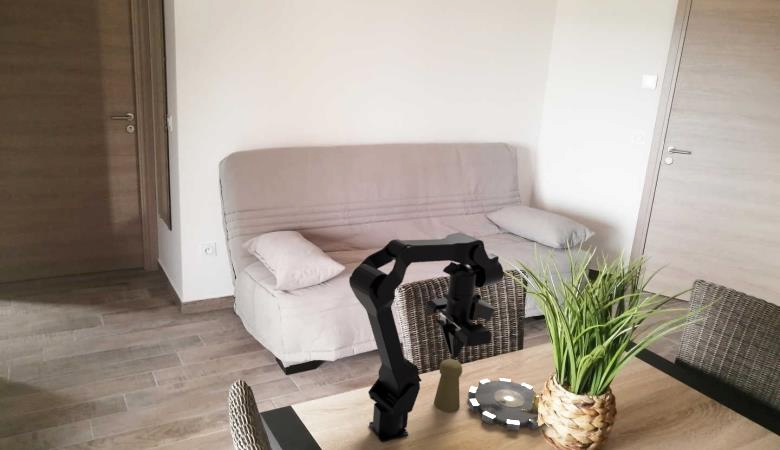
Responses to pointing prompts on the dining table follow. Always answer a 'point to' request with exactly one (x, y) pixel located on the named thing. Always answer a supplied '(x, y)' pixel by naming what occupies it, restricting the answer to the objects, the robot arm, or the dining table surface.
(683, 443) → the dining table surface
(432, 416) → the dining table surface
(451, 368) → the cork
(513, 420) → the sprocket
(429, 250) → the robot arm
